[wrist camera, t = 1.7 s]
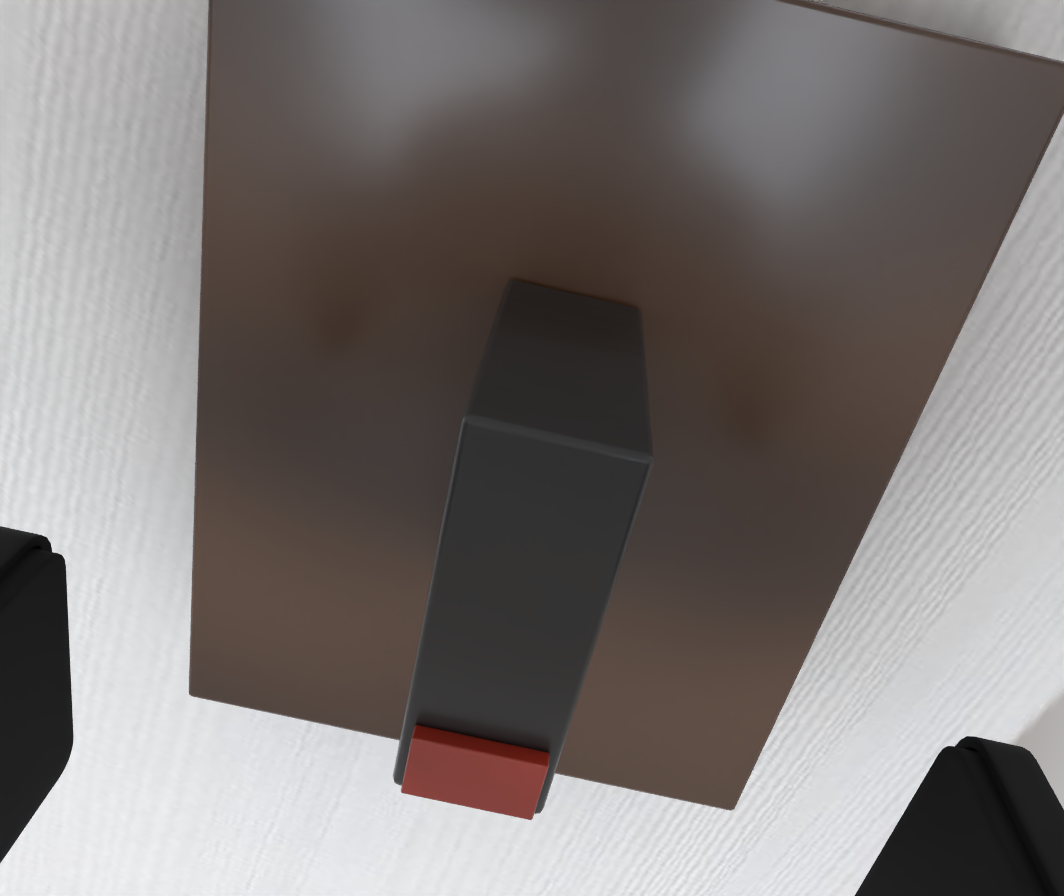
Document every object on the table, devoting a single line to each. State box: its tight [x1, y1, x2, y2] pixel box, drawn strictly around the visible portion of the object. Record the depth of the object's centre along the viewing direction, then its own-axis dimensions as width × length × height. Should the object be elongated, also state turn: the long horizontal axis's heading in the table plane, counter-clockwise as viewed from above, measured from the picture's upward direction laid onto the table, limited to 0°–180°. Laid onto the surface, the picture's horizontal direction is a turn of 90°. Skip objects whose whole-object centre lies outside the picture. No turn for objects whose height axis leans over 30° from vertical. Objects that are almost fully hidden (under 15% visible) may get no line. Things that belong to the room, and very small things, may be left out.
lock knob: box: [393, 280, 654, 820], centre depth 12 cm, size 6×2×5 cm, turn 168°
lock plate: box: [189, 0, 1064, 810], centre depth 15 cm, size 14×11×2 cm
